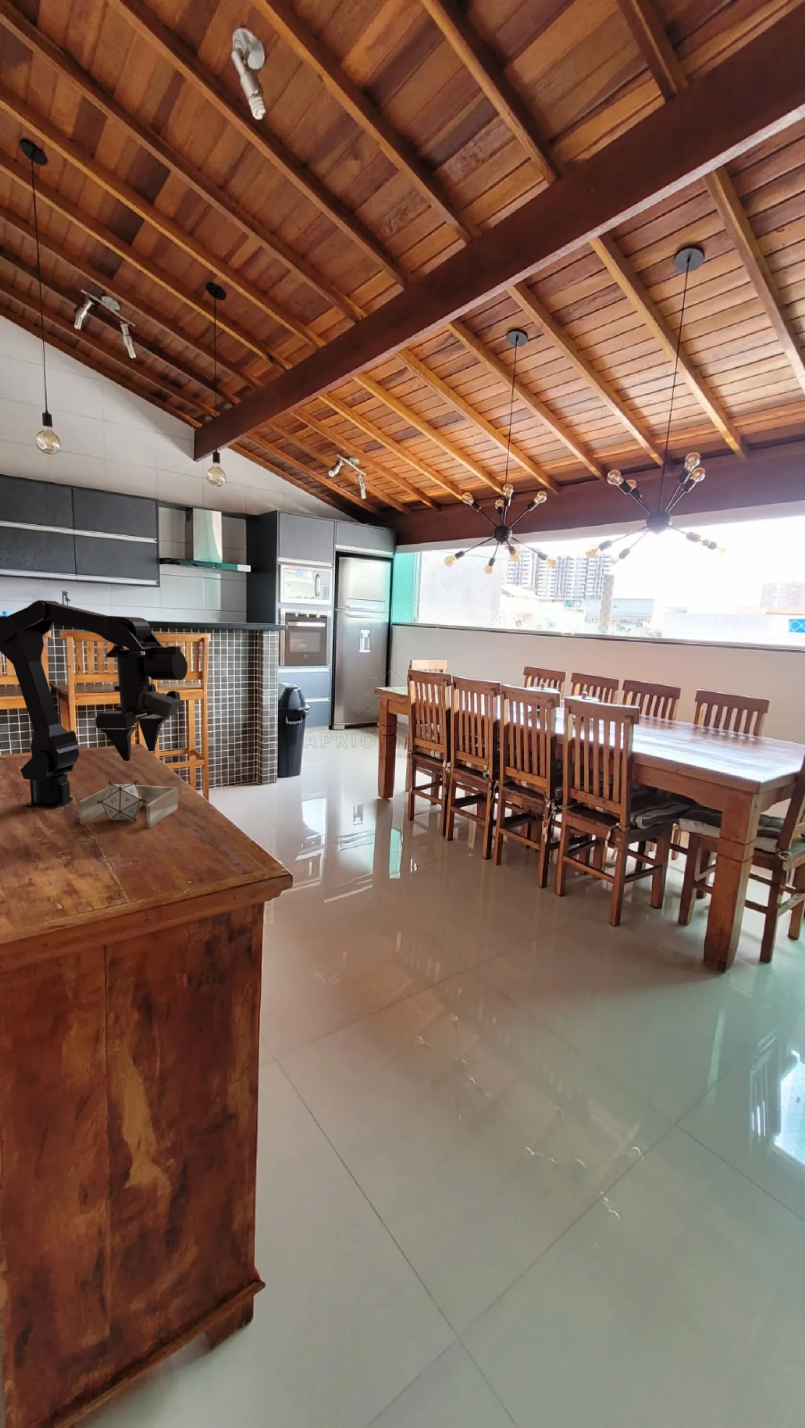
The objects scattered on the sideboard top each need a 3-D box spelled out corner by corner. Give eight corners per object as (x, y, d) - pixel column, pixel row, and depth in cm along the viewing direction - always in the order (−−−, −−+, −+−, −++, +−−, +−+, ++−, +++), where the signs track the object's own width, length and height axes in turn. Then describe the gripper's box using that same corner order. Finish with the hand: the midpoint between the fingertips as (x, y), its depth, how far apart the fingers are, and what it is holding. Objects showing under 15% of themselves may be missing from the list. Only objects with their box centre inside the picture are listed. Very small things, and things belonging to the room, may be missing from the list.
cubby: (79, 823, 113) (78, 801, 112) (114, 804, 125) (113, 783, 125) (150, 827, 112) (149, 805, 112) (178, 807, 125) (177, 787, 124)
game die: (126, 841, 115) (121, 812, 108) (91, 822, 116) (83, 792, 109) (157, 809, 121) (154, 780, 114) (123, 791, 122) (118, 761, 115)
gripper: (147, 684, 107) (152, 767, 109) (193, 676, 125) (197, 747, 127) (90, 684, 108) (97, 766, 110) (144, 676, 126) (149, 746, 129)
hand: (139, 755), depth 119 cm, fingers open, 9 cm apart
